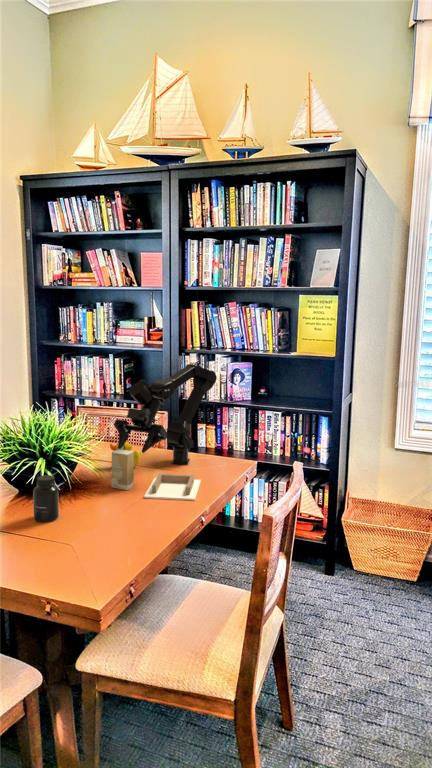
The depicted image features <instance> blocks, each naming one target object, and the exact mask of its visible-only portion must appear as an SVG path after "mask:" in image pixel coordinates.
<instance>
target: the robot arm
mask: <svg viewBox="0 0 432 768" xmlns="http://www.w3.org/2000/svg"><path fill="white" fill-rule="evenodd" d="M217 378H218V377H217V374H216V372H215V371H214V370H209V369H206V368H204V367H202V366H200V365H199V364H193V363H189V364H186V365H185V367H183V368H182V369H180V370H178V371H177V372H176V373H173V374H172V375H171V376H170V377H167V378H164V379H163V378H162V379H159V380H156V381H154V382H152V383H151V384H150V385H148V383H147V382H146V380H144V379H139V381H138V382H135V383H134V384H133V385H130V386H129V390H128V394H129V395H130V396H131V397H132V398H133V399H134V400H135V402H137V404H138V405H142V406H141V407H140V409H139V408H131V407H130V408H128V411H127V415H126V418H128V419H130V422H131V423H132V424H130V423H129V422H128V421H127V420H126V419H119V418H118V419H115V421H114V423H113V427H114V428H115V429H116V431H117V432H118V442H119V445H118V448H119V449H121V448H122V447H123V445H124V444H125V442H126V441H127V442H128V439H129V437H130V434H131V432H132V431H133V432H140V433H145V434H147V438H146V439H145V441H144V444H143V446H142V448H141V453H142V454H145V452H147V451H148V450H149V449H151V448H152V447H153V446H154V445H156V444H158V443H159V442H162V441H167V444H168V446H170V447H172V460H171V462H170V464H171V465H184V466H185V465H189V463H190V460H191V459H190V458H189V450H190V449H191V448H193V447H194V444H195V441H194V439H192V438H191V437H190V435H191V423H192V422H193V419H194V417H195V415H196V413H197V412H198V409H199V407H200V405H201V402H202V400H203V398H204V396H205V394H206V393H207V392H209V391H210V390H211V389H212V388H213V387H214V386H215V384H216V382H217ZM191 379H193V380H192V387H193V388H192V390H191V392H190V394H189V396H188V398H187V400H186V402H185V404H184V407H183V409H182V411H181V413H180V414H179V417H178V419H177V420H175V421H173V420H171V421H170V422H169V424H168V426H167V428H166V429H165V427H164V426H163V424H158V423H156V421H157V419H156V415H157V413H159V410H164V408H165V407H164V405H163V401H160V399H161V400H169V399H170V398H171V397H172V396H173V395H174V394H175V391H176V389H178V388H179V387H181V386H182V385H183V384H185V383H186V382H188V381H189V380H191Z"/></svg>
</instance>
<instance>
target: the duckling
mask: <svg viewBox="0 0 432 768" xmlns="http://www.w3.org/2000/svg"><path fill="white" fill-rule="evenodd" d="M118 445H119V441H118V442H117V443H116V445H114V444H113V442H111V443H109V447H110V450H111V451H112V452H113V451H115V450H117V449H119V448H118ZM132 449H133V445H132V444H131V443H130V442H129V441H128V440H127V441H126V442H125V444H124V445H123V447H122V448H121V450H128V451H132ZM141 457H142V456H141V453H140V451H139V450H137V449H136V450H134V467H136V466H138V465H139V464H140V462H141Z"/></svg>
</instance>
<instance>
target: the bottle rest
mask: <svg viewBox="0 0 432 768" xmlns="http://www.w3.org/2000/svg"><path fill="white" fill-rule="evenodd" d="M201 482H202V479H195V475H193V474H174V473H173V474H172V473H171V474H170V473H158V474H157V477H154V479H153V480H152V481H151V483H150V485H149V488H147V491H146V492H145V494H144V496H143V498H144V499H155V500H157V499H158V500H172V501H173V500H174V501H176V500H177V501H196V499H197V494H198V491H199V489H200V485H201Z"/></svg>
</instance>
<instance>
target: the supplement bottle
mask: <svg viewBox="0 0 432 768" xmlns="http://www.w3.org/2000/svg"><path fill="white" fill-rule="evenodd" d="M55 484H56V478H55V476H54V475H49V474H47V475H46V474H45V475H40V476H38V477H36V487H34V488H33V491H32V494H33V495H32V497H33V500H32V501H33V503H32V504H33V505H32V506H33V507H32V508H33V520H34V521H36V522H37V523H44V524H45V523H51V522H54V521H56V520H57V519H58V518H59V516H60V511H59V510H60V507H59V506H60V503H59V501H60V500H59V499H60V498H59V495H60V494H59V488H58V486H57V485H55Z"/></svg>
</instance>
